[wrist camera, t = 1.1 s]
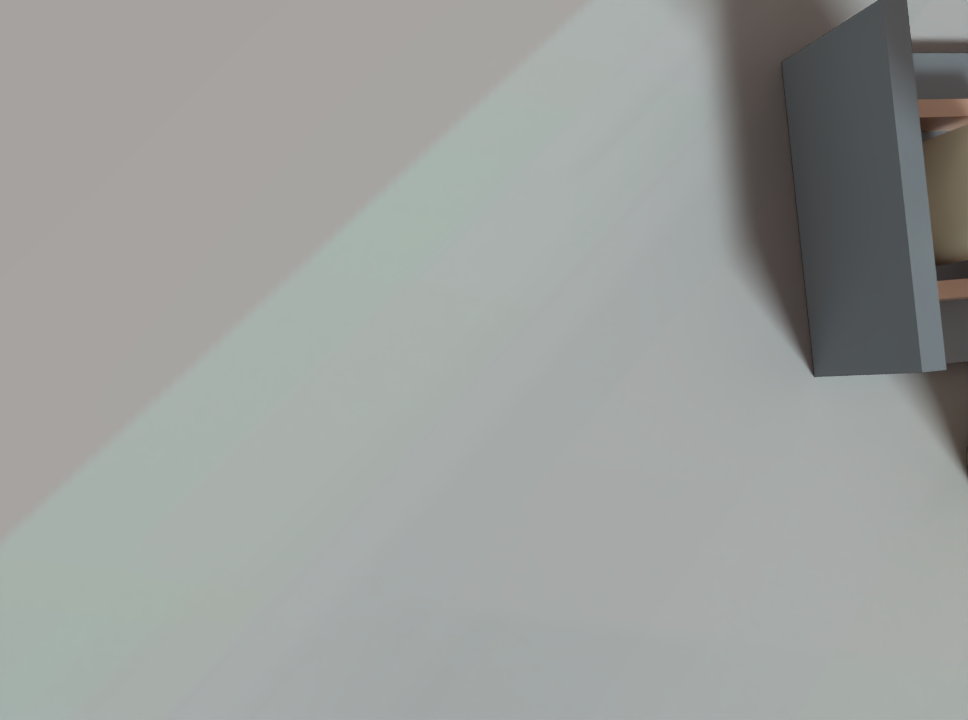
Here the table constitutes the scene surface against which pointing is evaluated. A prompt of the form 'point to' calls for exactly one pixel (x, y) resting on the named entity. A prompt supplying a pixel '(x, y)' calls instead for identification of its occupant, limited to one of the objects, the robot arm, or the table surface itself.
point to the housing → (881, 196)
